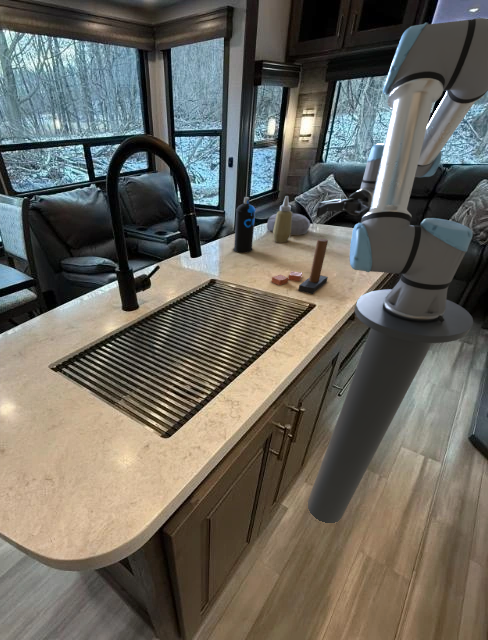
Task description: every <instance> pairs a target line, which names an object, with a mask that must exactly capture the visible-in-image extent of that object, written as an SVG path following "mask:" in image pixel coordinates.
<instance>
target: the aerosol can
mask: <svg viewBox="0 0 488 640" xmlns="http://www.w3.org/2000/svg"><path fill="white" fill-rule="evenodd" d="M256 211H257V209H256V207H255V206H254V205H252V204H251V203H250V197H248V196H244V197H243V203H242V204H240V205H238V206H237V207H236V208H235V227H234V245H233V246H234V248H233V251H234V252H235V253H239V254H247V253H250V252H252V251H253V243H254V240H253V239H254V230H255V229H254V228H255V219H256Z"/></svg>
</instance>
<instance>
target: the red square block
mask: <svg viewBox="0 0 488 640" xmlns="http://www.w3.org/2000/svg"><path fill="white" fill-rule="evenodd" d="M288 278H289V277H287V276H285V275H282V274H277V275H274V276H272V277H271V283H272V284H275V285H277V286H282V285H286V284H288V282H289V280H288Z"/></svg>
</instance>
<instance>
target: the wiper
mask: <svg viewBox="0 0 488 640" xmlns="http://www.w3.org/2000/svg"><path fill="white" fill-rule="evenodd" d="M328 242H329V240H328V239H327V238H318V239H316V245H315V249H314V255H313V259H312V264H311V269H310V273H309V277H307V278H306V279H305V280H304V281H303V282H302V283H300V284H299V285H298V292H302V293H306V294H309V295H313V294H315V293H316V292H317V291H318V290H319V289H321V288H322V287H323V286H324V285H325V284H326V283H327V282H328V278H329V276H326V275H322V269H323V265H324V261H325V257H326V251H327V247H328Z"/></svg>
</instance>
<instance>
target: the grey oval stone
mask: <svg viewBox="0 0 488 640" xmlns="http://www.w3.org/2000/svg"><path fill="white" fill-rule="evenodd" d="M276 215H277V213H274V214H272V215H270V216H269V217H268V219H267V223H266V229H267V231H269V232H272V233H273V230H274V225H275V220H276ZM310 226H311V221H310V220H309V219H308V218H307V217H306V216H305V215H303V214H300V213H297V212H292V224H291V234H290V236H296V235H305V234H307V233H308V231H309V228H310Z"/></svg>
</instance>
